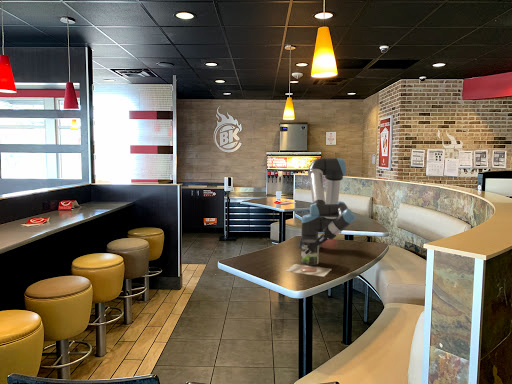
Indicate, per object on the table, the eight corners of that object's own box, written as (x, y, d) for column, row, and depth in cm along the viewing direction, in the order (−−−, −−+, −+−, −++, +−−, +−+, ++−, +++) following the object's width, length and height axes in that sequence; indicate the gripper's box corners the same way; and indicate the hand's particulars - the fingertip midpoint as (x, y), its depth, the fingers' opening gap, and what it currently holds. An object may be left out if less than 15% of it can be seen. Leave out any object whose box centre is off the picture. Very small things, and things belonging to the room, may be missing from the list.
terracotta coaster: (298, 270, 213) (298, 270, 213) (303, 266, 221) (303, 266, 221) (314, 273, 209) (314, 272, 209) (318, 269, 218) (318, 268, 218)
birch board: (284, 272, 213) (284, 270, 213) (294, 265, 227) (294, 264, 227) (324, 278, 204) (324, 276, 204) (331, 270, 218) (331, 268, 218)
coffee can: (312, 267, 223) (312, 243, 222) (297, 264, 230) (298, 240, 229) (322, 264, 231) (322, 240, 230) (307, 261, 238) (308, 238, 237)
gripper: (331, 239, 212) (303, 264, 220) (341, 232, 233) (315, 255, 241) (322, 228, 214) (294, 253, 222) (332, 222, 235) (306, 245, 243)
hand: (305, 254), depth 232 cm, fingers closed on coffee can, 10 cm apart
